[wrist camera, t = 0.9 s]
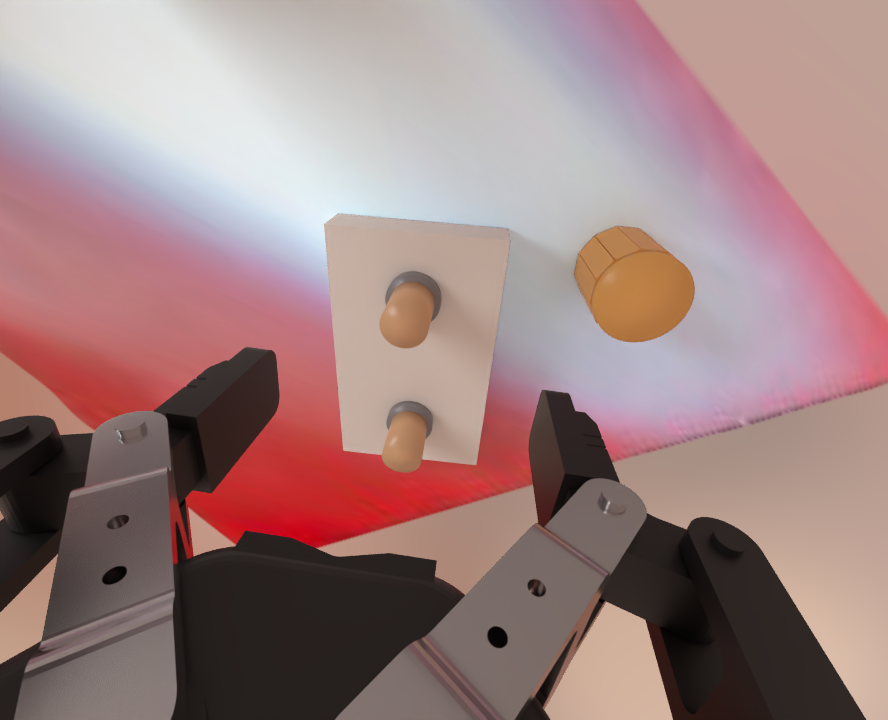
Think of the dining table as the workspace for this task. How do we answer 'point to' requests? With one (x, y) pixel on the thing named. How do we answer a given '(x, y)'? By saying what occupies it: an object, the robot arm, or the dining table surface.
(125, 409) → the dining table surface
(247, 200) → the dining table surface
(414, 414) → the plate with orange knobs
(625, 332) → the cap
